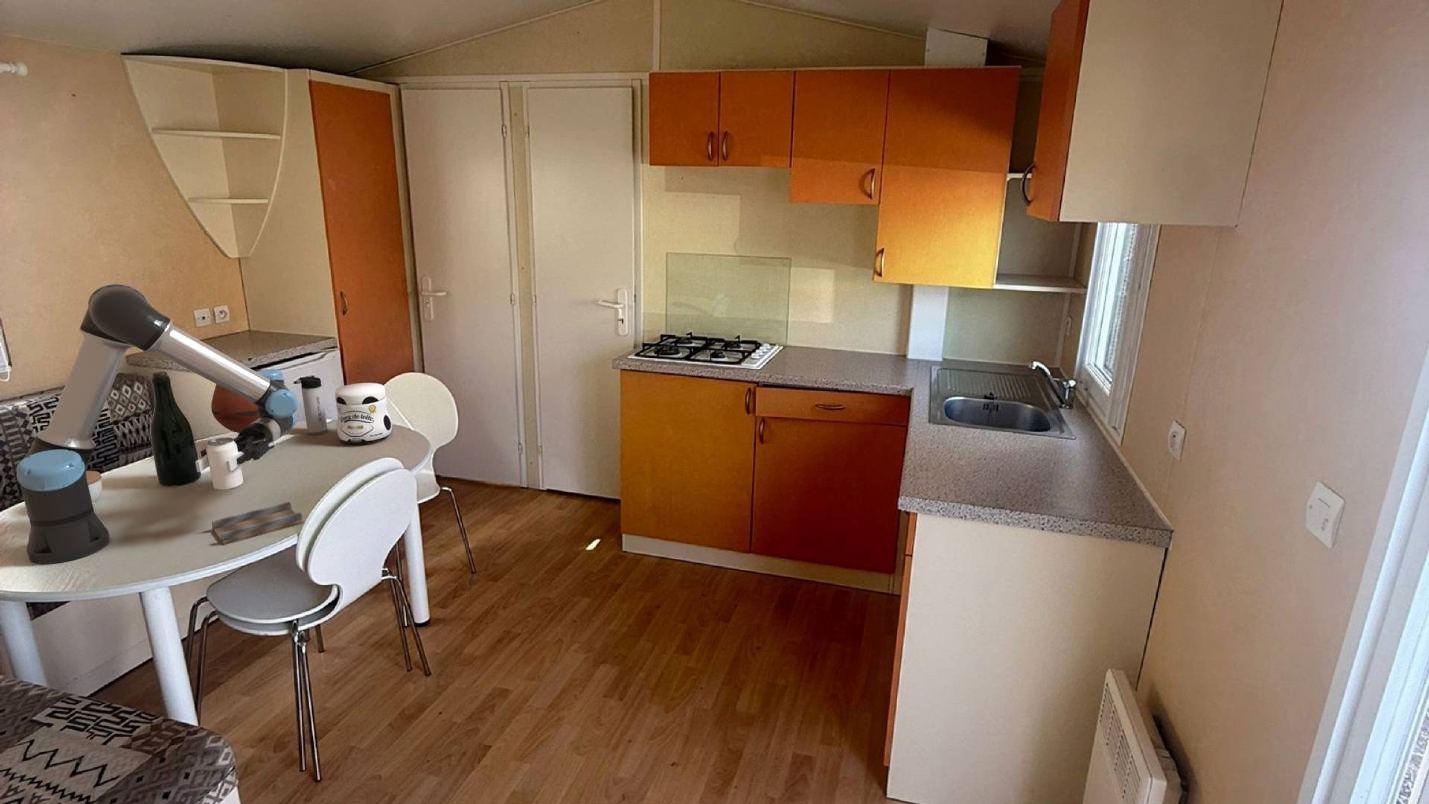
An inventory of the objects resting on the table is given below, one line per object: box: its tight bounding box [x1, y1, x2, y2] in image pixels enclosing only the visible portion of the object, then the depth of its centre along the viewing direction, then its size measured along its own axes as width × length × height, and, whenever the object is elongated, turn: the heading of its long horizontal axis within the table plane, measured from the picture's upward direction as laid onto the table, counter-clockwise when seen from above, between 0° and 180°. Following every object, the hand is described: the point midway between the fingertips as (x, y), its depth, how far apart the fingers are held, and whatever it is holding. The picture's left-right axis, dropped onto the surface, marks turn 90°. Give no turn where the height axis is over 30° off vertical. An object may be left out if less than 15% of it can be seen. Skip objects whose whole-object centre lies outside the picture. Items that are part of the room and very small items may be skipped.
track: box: [211, 501, 304, 546], centre depth 193 cm, size 18×11×3 cm, turn 135°
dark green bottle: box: [149, 371, 202, 487], centre depth 216 cm, size 10×10×33 cm
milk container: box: [334, 382, 393, 444], centre depth 256 cm, size 17×17×18 cm
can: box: [205, 437, 244, 491], centre depth 189 cm, size 6×6×12 cm
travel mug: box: [298, 376, 329, 436], centre depth 262 cm, size 6×7×20 cm
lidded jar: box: [86, 470, 103, 505], centre depth 203 cm, size 11×11×9 cm
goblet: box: [210, 384, 259, 454], centre depth 243 cm, size 19×19×25 cm
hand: (213, 466), depth 184 cm, fingers closed on can, 6 cm apart
